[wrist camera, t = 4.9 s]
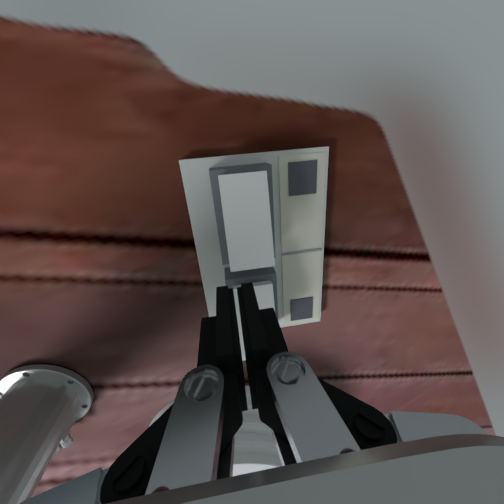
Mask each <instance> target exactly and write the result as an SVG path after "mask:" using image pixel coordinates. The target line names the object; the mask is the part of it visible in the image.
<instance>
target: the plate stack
mask: <svg viewBox="0 0 504 504" xmlns="http://www.w3.org/2000/svg"><path fill="white" fill-rule="evenodd" d="M245 390H246V399H247V408H248V410H247V411H242V413H243V421H242V423H243V424H242V426H241V427H240V428H239V430H238V431H237V433H236V434H235V448H234V461H233V475H232V476H237V475H242V474H247V473H251V472H256V471H261V470H266V469H271V468H276V467H280V466H282V463H281V460H280V457H279V454H278V451H277V448H276V445H275V442H274V439H273V436H272V432H271V428H270V427H268V426H267V425H266V424H264V423H263V422H262V421H260V418H259V413H258V409H253V410H252V403H251V395H250V387H249V386H245ZM174 401H175V400H174ZM174 401H172V402H171V403H169V404H168V405H166V406H165V407H164V408H163V409H162V410H160V411H159V412H158V414H157V415H156V416H155V417H154V418H153V420H152V421H151V423H150V425H149V427H150V426H151V425H152V424H153V423H154V422H155V421H156V420H157V419H158V418H159V417H160V416H161V415H162V414H163V413H164V412H165V411H166V410H167V409H168V408H169V407H170V406H171V405H172V404H173V403H174Z"/></svg>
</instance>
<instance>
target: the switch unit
mask: <svg viewBox="0 0 504 504" xmlns="http://www.w3.org/2000/svg"><path fill="white" fill-rule="evenodd" d="M328 157H329V147H313V148H302V149H291V150H280V151H269V152H258V153H247V154H237V155H226V156H215V157H204V158H193V159H182V160H179V165H180V170H181V175H182V180H183V185H184V190H185V195H186V201H187V206H188V211H189V216H190V221H191V226H192V231H193V237H194V242H195V247H196V252H197V257H198V262H199V267H200V273H201V278H202V283H203V288H204V293H205V298H206V303H207V309H208V314H209V317H212V316H216V287H220V286H228V288H233V285H240V284H242V283H249V282H252V283H254V282H262V281H269V280H271V282H272V284H273V295H274V306H275V314H276V317H277V320H278V322H279V325H280V327H286V326H293V325H299V324H305V323H311V322H318V321H320V316H321V296H322V276H323V256H324V236H325V216H326V196H327V176H328ZM257 171H267V180H268V191H269V203H270V214H271V226H272V237H273V248H274V260H275V266H272V267H264V268H257V269H250V270H242V271H235V272H231V271H230V264H229V256H228V249H227V241H226V233H225V226H224V218H223V211H222V203H221V195H220V188H219V180H218V175H227V174H237V173H247V172H257Z"/></svg>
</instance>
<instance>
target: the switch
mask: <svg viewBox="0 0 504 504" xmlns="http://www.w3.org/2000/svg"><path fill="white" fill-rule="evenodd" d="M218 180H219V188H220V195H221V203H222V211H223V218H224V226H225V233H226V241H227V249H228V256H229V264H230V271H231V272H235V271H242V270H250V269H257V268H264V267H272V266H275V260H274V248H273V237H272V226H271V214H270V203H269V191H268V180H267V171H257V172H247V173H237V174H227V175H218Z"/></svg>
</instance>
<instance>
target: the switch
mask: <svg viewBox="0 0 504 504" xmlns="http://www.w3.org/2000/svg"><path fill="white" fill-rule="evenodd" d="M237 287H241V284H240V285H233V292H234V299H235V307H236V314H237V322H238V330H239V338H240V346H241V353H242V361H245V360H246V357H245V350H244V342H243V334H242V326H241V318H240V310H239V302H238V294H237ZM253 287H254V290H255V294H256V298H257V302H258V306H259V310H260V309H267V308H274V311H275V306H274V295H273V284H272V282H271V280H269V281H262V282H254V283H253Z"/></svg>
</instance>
